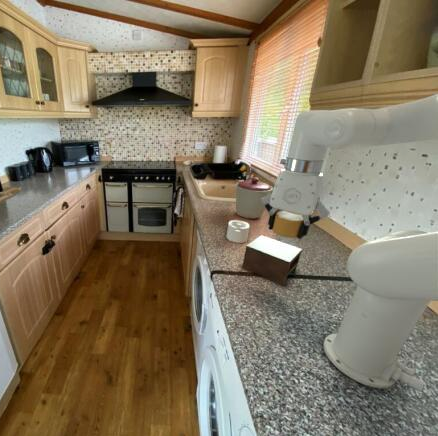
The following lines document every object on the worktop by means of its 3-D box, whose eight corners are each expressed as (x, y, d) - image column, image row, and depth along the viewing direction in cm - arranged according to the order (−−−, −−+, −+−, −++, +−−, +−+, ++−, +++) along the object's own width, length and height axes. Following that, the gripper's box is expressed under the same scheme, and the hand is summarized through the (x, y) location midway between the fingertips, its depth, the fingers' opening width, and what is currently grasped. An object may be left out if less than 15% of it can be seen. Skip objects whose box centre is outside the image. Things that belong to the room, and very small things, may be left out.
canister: (224, 212, 137) (229, 175, 129) (247, 207, 145) (254, 172, 136) (248, 224, 122) (256, 183, 114) (273, 218, 129) (282, 179, 121)
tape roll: (303, 232, 65) (308, 216, 63) (294, 240, 61) (299, 223, 59) (277, 225, 70) (281, 209, 68) (268, 231, 66) (272, 215, 64)
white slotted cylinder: (246, 244, 103) (249, 230, 100) (225, 240, 106) (227, 226, 103) (248, 226, 120) (250, 213, 117) (230, 223, 123) (231, 211, 120)
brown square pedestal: (295, 271, 85) (302, 249, 82) (283, 286, 78) (289, 262, 74) (256, 255, 95) (261, 235, 91) (242, 267, 87) (246, 245, 84)
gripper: (260, 162, 62) (248, 226, 69) (343, 174, 50) (318, 249, 57) (272, 159, 67) (260, 219, 74) (351, 169, 55) (327, 239, 62)
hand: (285, 231), depth 65 cm, fingers closed on tape roll, 6 cm apart
